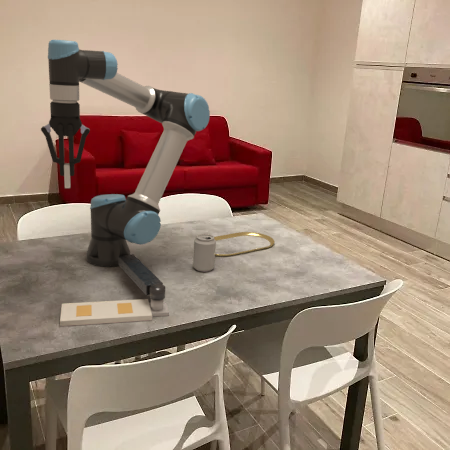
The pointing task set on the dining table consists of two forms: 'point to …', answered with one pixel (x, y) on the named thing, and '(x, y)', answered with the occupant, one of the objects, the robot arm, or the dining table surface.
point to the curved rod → (244, 235)
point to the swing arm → (142, 276)
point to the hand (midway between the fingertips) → (67, 186)
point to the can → (204, 252)
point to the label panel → (111, 311)
